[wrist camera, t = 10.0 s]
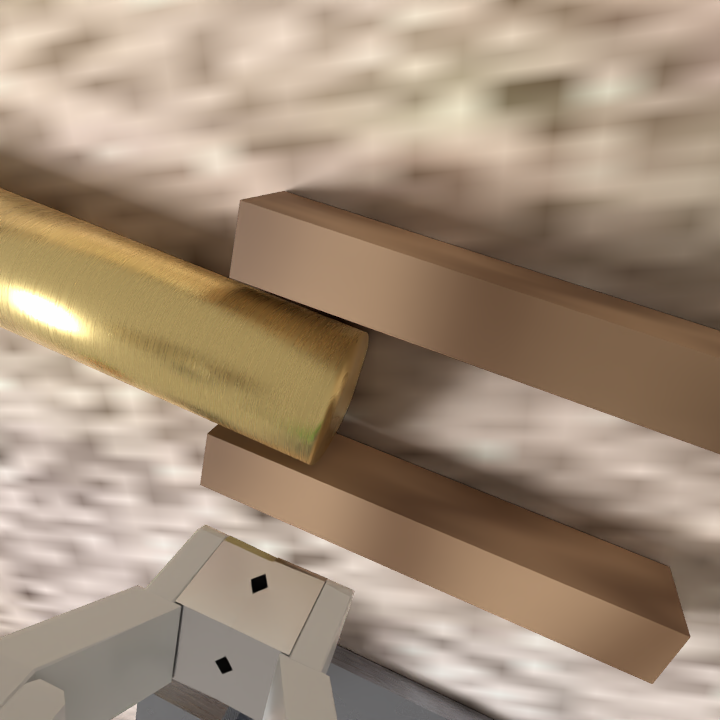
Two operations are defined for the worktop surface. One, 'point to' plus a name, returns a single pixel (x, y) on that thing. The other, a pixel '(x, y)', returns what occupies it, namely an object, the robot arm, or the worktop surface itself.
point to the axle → (177, 329)
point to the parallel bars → (506, 358)
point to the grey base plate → (350, 693)
